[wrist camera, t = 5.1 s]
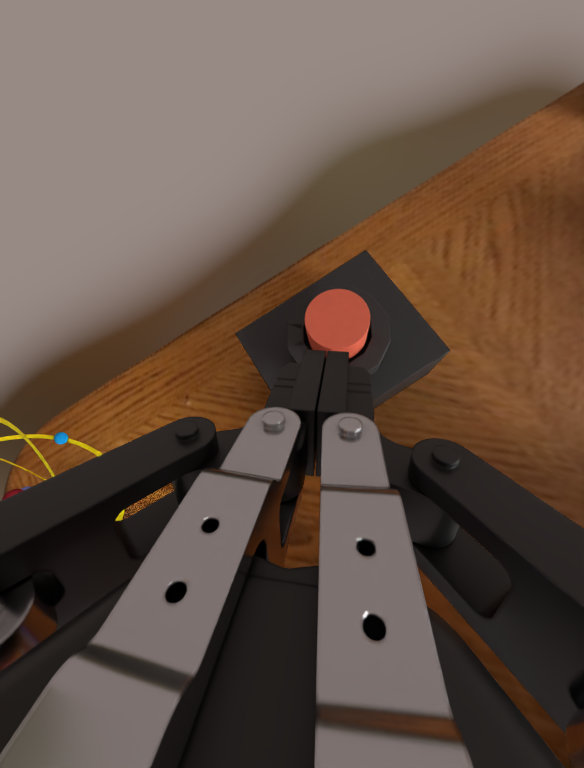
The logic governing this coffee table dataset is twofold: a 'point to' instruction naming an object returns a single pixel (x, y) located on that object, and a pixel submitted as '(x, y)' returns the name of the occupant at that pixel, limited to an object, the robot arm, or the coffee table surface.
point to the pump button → (337, 322)
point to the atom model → (58, 438)
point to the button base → (384, 339)
